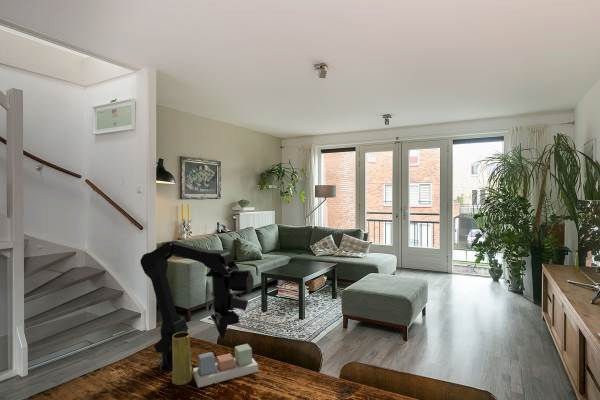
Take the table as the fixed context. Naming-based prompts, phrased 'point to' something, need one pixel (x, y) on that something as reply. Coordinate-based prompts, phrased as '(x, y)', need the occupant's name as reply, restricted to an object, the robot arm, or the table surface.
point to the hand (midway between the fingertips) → (222, 337)
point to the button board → (224, 374)
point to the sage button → (243, 355)
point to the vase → (181, 358)
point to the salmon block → (225, 362)
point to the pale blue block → (206, 364)
